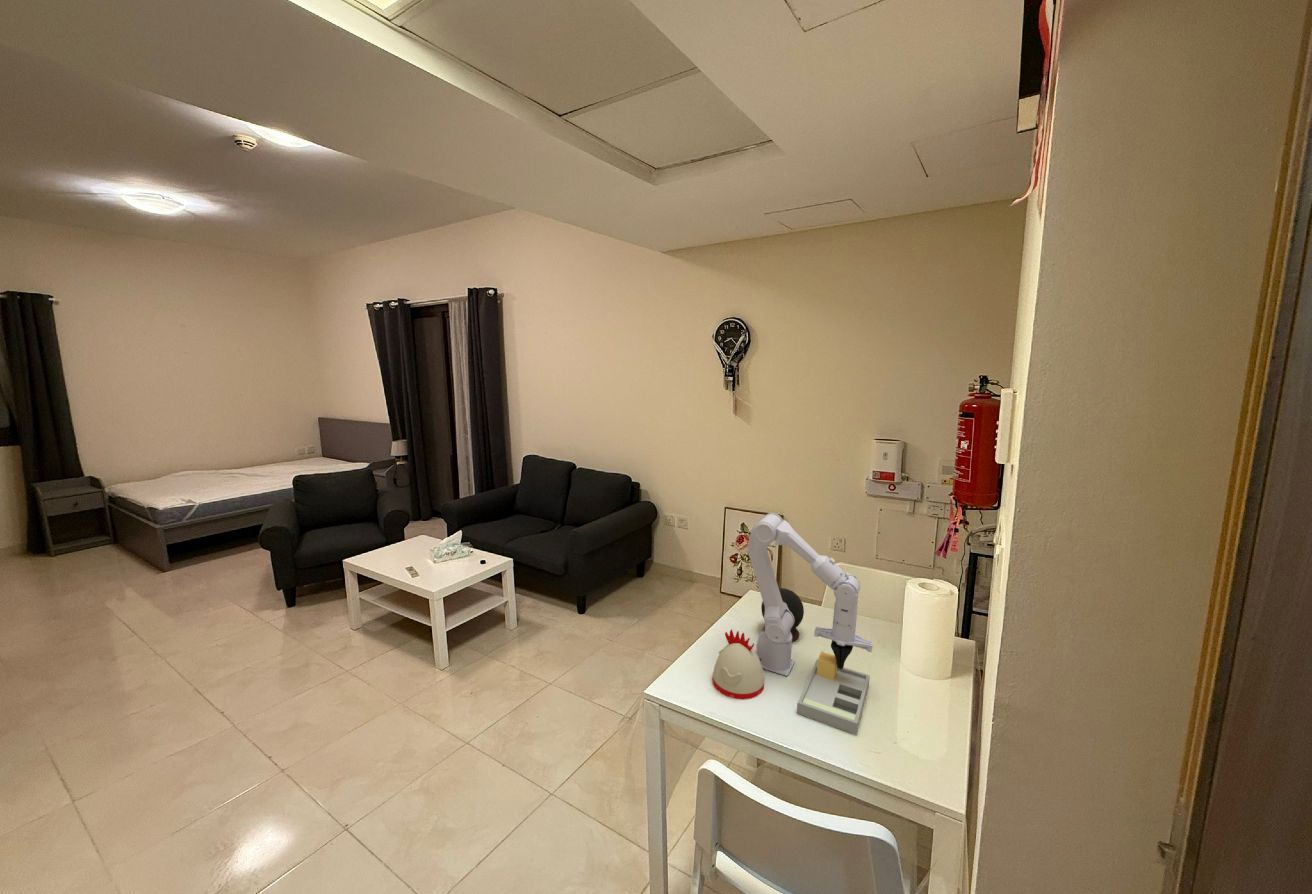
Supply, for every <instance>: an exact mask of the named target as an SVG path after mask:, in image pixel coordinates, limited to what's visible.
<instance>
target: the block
mask: <svg viewBox="0 0 1312 894" xmlns="http://www.w3.org/2000/svg"><path fill="white" fill-rule="evenodd" d="M817 659H818V663H817V675H819V676H822V677H825V678H828V679H831V680H834V678H835V676H836V673H837V662H836V658H835V655H834V654H831V653H827V652H823V651H821V652H820V654H819V656H818V658H817Z"/></svg>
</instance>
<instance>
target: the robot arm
mask: <svg viewBox="0 0 1312 894" xmlns="http://www.w3.org/2000/svg"><path fill="white" fill-rule="evenodd" d="M749 532H750V535H749V539H748V542H747V546H746V549H747V554H748V556H749V559H750V563H751V566H752V569H753V573H754V576H755V578H756V579H755V580H756V583H757V586H758V589H759V591H760V595H761V599H762V601H763V603H764V606H765V614H764V618H763V619H764V624H765V625H764V627H765V631H763V630H761V631H760V632H759V635H758V637H757V641H756V651H755V652H756V653H757V655H758V657H759V660H760V662H761V665H762V669H763V670H766V671H770V672H773V673H776V674H779V675H783V676H785V677H788V676H789V674H790V673H791V670H792V669H793V666H794V665H795V663H796V661H795V660H794V659H792V649H793V648H792V647H793V643H792V634H791V631H790V629H791V628H792V626H793V625H794V622H795V619H794V616H793V614H792V613H791V612H790V611H789V609H788V607H787V604H786V603H784V602H783V601H782V598H781V594H780V591H779V588H780V587H779V584H778V582H777V578H776V575H775V572H774V569H773V568H774V567H773V566H772V562H771V558H770V556H769V555H770V554H769V552H768V548H769V546H770V544H772V543H773V542H774V541H775V543H774V546H787V547H789V548H790V549H791V550H792V551H794V552H795V553H796V554H797V555H798V556H800V557H801V558H802V559H803V560H805V561H806V562H807V563H808V564H810V567H811V572H812V573H813V574H814V575H815V576H816V577H817V578H819V579H820V580H821V581H822V582H823V583H824V584H826V585H827V586H828V588H830V589H831V590H832V591H833V595H834V597H835V601H834V605H833V607H834V608H833V616H832V628H826V627H819V626H815V629H814V636H813V637H817V638H819V637H821V638H825V639H826V640H827V639H828V640H831V642H830V643H831V644H830V648H831V650H832V652H833V655H835V658H836V662H837V668H839V669H843V667H844V668H845V662H846V660H847V659H848V657H849V656H850V655H851V653H852V651H853V648H855V647H856V648H860V649H862V650H866V651H867V652H868V653H872V651H873V644H874V642H873V641H870V640H867V639H865V638H864V637H861V636H859V635H856V631H857V629H856V628H857V620H858V619H857V618H858V603H859V600H858V598H859V595H860V594H859V593H860V591H861V582H860V580H859V579H858V578H857V576H856V575H854V574H851V573H849V572H848V571H844V570H843V568H841V567H840V566H839V565H838V564H837V563H836V559H834V558H833V557H829V556H828V555H823V554H822V555H820V554H819V553H818V552H817V551H816V550H815V549H814V548H813V547H812V546H811V545H810V544H809V543H807V542H806V540H804V539H803V537H802V536H800V535H799V533H797V532H796V531H795V530H794V528H793V527H792V526H791V524H790V523H789V522H788V521H786V520H785V519H783V517H781V516H780V515H779V514H777V513H775V512H769V513H767V514H765V515H764V516H763V517H762V519H760V520H759V522H757V523H755V525H754V526H753V527H752V528H751V529H750V531H749Z"/></svg>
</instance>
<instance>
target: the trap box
mask: <svg viewBox="0 0 1312 894" xmlns="http://www.w3.org/2000/svg"><path fill="white" fill-rule="evenodd" d="M817 663H818V658H817V659H816V661H815V662H814V665H813V667H812V669H811V671H810V674H809V677H808V678H807V681H806V683H805V685H804V688H803V690H802V691H801V694H800V696H799V699H798V701H797V702H796V703H797V707H796V714H797V715H800V716H802V717H805V718H808V719H811V720H814V721H817V722H819V723H822V724H825V725H828V726H829V727H830V726H831V727H833V728H835V729H836V728H837V729H839V730H842V731H844V732H847V733H850V734H852V735H855V736H856V735H858V734H857V733H858V730H859V726H860V722H861V719H862V714H863V711H864V706H865V703H866V698H867V695H868V690H869V687H870V678H871V677H870V676H871V675H870V674H866V673H864V672H859V671H858V670H857V671H856V670H853V669H850V668H848V667H845V666H844V667H843V669H839V668H837V673H836V676H835V678H834V680H831V679H828V678H825V677H822V676H819V675H817Z"/></svg>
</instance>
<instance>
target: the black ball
mask: <svg viewBox="0 0 1312 894" xmlns="http://www.w3.org/2000/svg"><path fill="white" fill-rule="evenodd" d="M778 588H779V591H780V594H781V598H782V601H783V602H784V603H786V604H787V607H788V609H789V611H790V612H791V613H792V614H793V616H794V619H795V622H794V625H793V626H792V628H791V629H790V631H791V634H792V644H793V643H795V642H798V640H799V639H798V638H800V632H799V630H798V627H799V625H800V624H801V623H802V621H803V619H804V614H805V608H804V604H803V602H802V600H801V598H800V597H799V595H797V593H795V592H794V591H793V590H790V589H789V588H786V587H785V588H784V587H778ZM764 614H765V606H764V603H763V600H762V602H761V615H762V617H763V619H764ZM762 631H765V626H763V629H762Z"/></svg>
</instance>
